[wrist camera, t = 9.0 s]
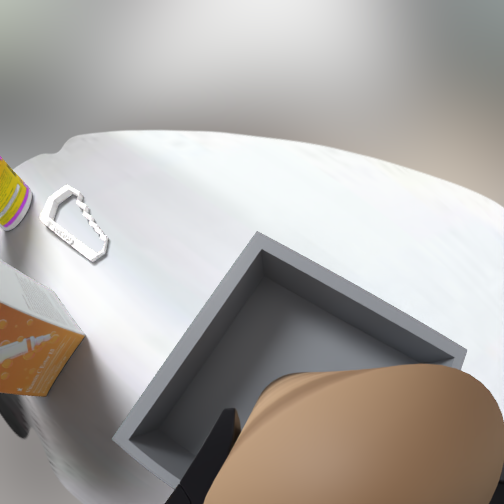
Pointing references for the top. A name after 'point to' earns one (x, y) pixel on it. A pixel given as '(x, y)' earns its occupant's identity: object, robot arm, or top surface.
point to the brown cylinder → (367, 440)
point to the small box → (32, 334)
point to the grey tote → (267, 350)
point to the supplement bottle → (12, 197)
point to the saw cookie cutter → (47, 219)
